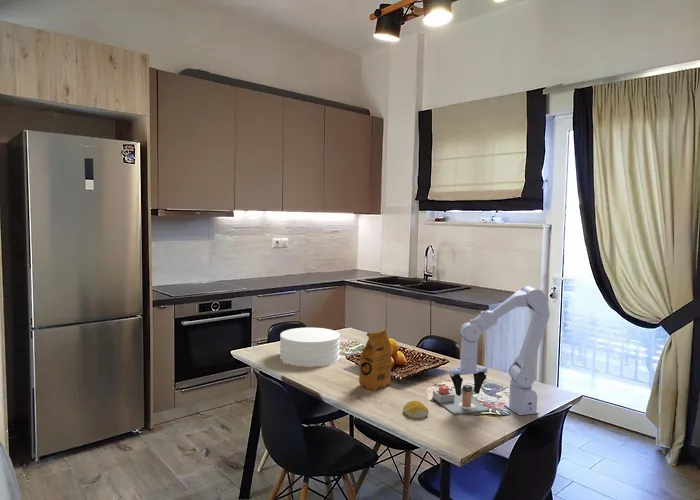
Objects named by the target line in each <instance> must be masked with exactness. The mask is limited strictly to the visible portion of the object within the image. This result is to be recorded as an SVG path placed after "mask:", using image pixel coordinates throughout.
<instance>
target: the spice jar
mask: <svg viewBox="0 0 700 500" xmlns="http://www.w3.org/2000/svg"><path fill="white" fill-rule="evenodd" d="M472 391H473V386H472V385H469V384H464V385H462V388H461V394H462V406H464V407H471V398H472Z"/></svg>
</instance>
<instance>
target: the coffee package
mask: <svg viewBox="0 0 700 500" xmlns="http://www.w3.org/2000/svg"><path fill="white" fill-rule="evenodd" d="M366 336H367V337H368V339H367V342H366V344H365V346H364V348H363V349H362V351H361V353H360V357H359V358H360V359H359V377H358V382H359V385H360V386H361V387H364V388H365V387H367V388H366V389H369V390H370V391H372V390H373V391H375V390H378V389H379V388H385V387H387V386H388V385H390V384H391V380H392V379H391V376H392V375H391V374H392V373H391V372H392V347H391V342H390V339H389V337H388V334H387V331H386V328H382V329H381V330H380V331H379V332H367V334H366Z"/></svg>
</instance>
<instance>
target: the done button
mask: <svg viewBox="0 0 700 500" xmlns="http://www.w3.org/2000/svg"><path fill="white" fill-rule="evenodd" d="M438 390H439V394H441V395H447V394H449V391H450V387H449V386H447V385H440V386H438Z"/></svg>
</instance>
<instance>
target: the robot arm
mask: <svg viewBox="0 0 700 500" xmlns="http://www.w3.org/2000/svg"><path fill="white" fill-rule="evenodd" d="M548 301H549V298H548V296H547V295H546V294H545V291H543V290H540V289H537V288H535V287H533V286H531V285H526V286H525V285H524V286H523V287H522V288H520V289H518V290H516V291H515V292H513V294H512V295H510V296H509V297H507V299H505V300H504V301H502V302H501V303H500V304H499V305H497V306H496V307H495V308H494V309H492V310H489V309H487V310H485V311H484V310H481V312H480V314H479V315H477V316H476V317H475V318H473V319H472V318H471V319H469V322H464V323H463V324H462V325H461V327H460V328H459V333H460V335H461V343H460V362H459V363H460V366H458V367H455V368H452V369H448V375H449V377H450V378H451V379H450V380H451V382H452V384H453V387H454V391H455V392H454V393H455V395H456V394H457V395H458V396H460V395H461V394H462V386H463V385H462V384H463V382H464V381H463V380H464V379H463V378H462V376H463V375H465V376H466V375H473V381H474V382H473V383H474V384H473V390H474V393H475V394H476V395H477V394H478V395H479V394H480V391H481V387H482V386H483V383H484V382H485V380H486V379H487V374H488V367H486V366H478V349H479V348H478V347H479V346H478V340H479V339H480V337H481V335H482V334H483V333H485V332H486V331H489V330H490V329H491V328H492V327H493V326H495V325H497V322H498V320H499V318H501V317H503V316H504V315H506V314H508V313H509V312H511V311H513V310H514V309H515V308H517V307H519V308H521V307H522V308H528V309H529V311H530V312H531V314H532V316H531V319H530V322H529V326H528V328H527V331H526V334H525V337H524V339H523V343H522V345H521V348H520V351H519V355H518V356H517V357H515V359H514V360H513V363H512V364H511V365H510V366H509V368H508V374H509V376H510V378H511V379H510V383H509V398H508V399H509V400H508V401H509V403H504V404H503V406H504V407H506V408H508V409H509V410H510V411H513V412H514V413H515V414H517V415H518V416H527V415H534V414H535V415H536V414H539V411H538V394H537V392H536V391H535V390H534V389H533V386H532V385H533V384H534V382H535V371H536V366H535V360H536V356H537V354H538V351H539V348H540V345H541V341H542V339H543V336H544V333H545V331H546V327H547V324H548V322H549V319H550V315H551V314H550V313H551V312H550V307H549V303H548Z"/></svg>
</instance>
